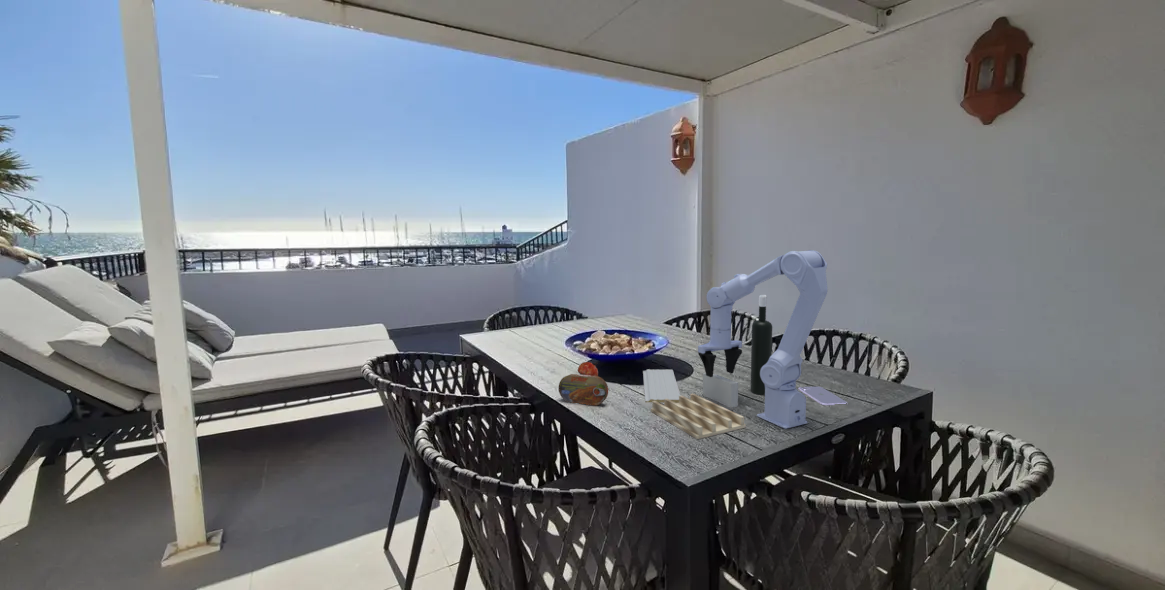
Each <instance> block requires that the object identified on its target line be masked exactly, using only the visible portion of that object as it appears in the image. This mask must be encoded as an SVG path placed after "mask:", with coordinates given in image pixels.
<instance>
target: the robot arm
mask: <svg viewBox="0 0 1165 590" xmlns="http://www.w3.org/2000/svg"><path fill="white" fill-rule="evenodd" d="M827 269H828V263H827V261H826V260H825V258H824V257H823V255H822V254H821V252H819V251H817V250H812V249H808V250H803V251H799V250H798V251H797V250H791V251H788V252H786V253H785V254H781V255H779V256H777V257H776V258H774V259H773V260H771V261H769V262H768V263H766V264H764V265H763V266H761V267H760V268H757V269H756V270H755V271H753V272H751V273H750V274H745V273H736V274H735V275H733V278H732V279H730V280H729V281H724V282H722V283H721V284H720V286H714V287H711V288H710V289H709V290H708V291H707V293H706V302H707V304H708V305H709V306H710V316H709V317H710V318H709V320H710V326H709V327H710V329H709V338H710V339H709V341H708V342H707V343H704V344H700V345H697V352H698V356H699V357H700V360H701V362H702V365H703V368H704V373H706V376H709V377H713V373H714V370H715V369H714V368H715V367H714V366H715V362H716V358H717V355H716V354H713V352H718V351H723V352H724V355H725V368H726V369H725V370H726V373H729V374H734V372H735V369H736V365H737V362H738V360H739V358H740V357H741V355H742V353H743V350H742V347H743V341H742V340H739V339H736V340H732V311H733V306H734V304H735V303H736V302H737V301H738V300H740V299H743V298H744V297H747V296H748V295H750V294H752V293H753V292H754V290H755V288H756V286H758V285H760V284H761V283H764V282H766V281H768V280H770V279H772V278H774V277H777V276H779V275H780V276H783V275H785V277H787V279H789V280H790V281H791V282H792V283H793V284H794V285H795V286H796V288H797V289H798V291H799V296H798V298H797V301H796V304H795V305H794V308H793V311H792V313H791V316H790V318H789V320H788V322H787V324H786V325H787V326H786V327H785V331H784V332H783V335H782V338H781V339H780V343H778V347H777V349H776V350H775V351H774V352H773V353H772V355H771V356H770V358H769V360H768V362H767V363H766V364H765V365H763V366H762V368H761V370H760V377H761V380H762V381H763V383H764V384H765V395H764V411H763V412H762V413H757V414H756V417H757V418H760V419H762V420H765V421H767V422H769V423H770V424H771V423H772V424H773V425H776V426H778V427H780V428H782V429H785V430H786V429H787V430H788V429H790V428H795V427H799V426H801V425H802V426H803V425H806V424H808V421H807V420H806V415H807V413H806V412H807V411H806V410H807V409H806V408H807V399H806V396H805V393H803V392H801V391H800V390H799V389H798V388H797V380H799V379H800V378H801V375H802V363H803V358H802V357H801V354H802V352H803V350H804V347H805V345H806V343H807V340H808V338H809V335H810V333H811V331H812V329H813V326H814V324H815V323H816V319H817V318H818V316H819V313H820V311H821V308H822V305H823V304H824V301H825V299H826V297H827V295H828V290H829V289H828V281H827Z"/></svg>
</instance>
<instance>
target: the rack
mask: <svg viewBox="0 0 1165 590" xmlns="http://www.w3.org/2000/svg"><path fill="white" fill-rule="evenodd" d="M689 396H690V397H689V398H688V397H686V396H684V395H680V396H679V403H675V402H673V401H671V400H669V399H664V404H662V403H661V402H657V401H652V402H651V404H652V405H651V406H652V407H651V408H650V412H651V413H653V414H654V415H656V416H658V417H660V419H662V420H664V421H666V422H668V423H669V424H671V425H672V426H675V427H676V428H678V429H679V430H681V431H683V432H684V433H686V434H687V435H690V436H691V437H693V438H694V439H696V440H700V439H701V440H702V439H705V438H710V437H712V436H716V435H721V434H724V433H729V432H732V431H733V432H734V431H737V430H742V429H745V428H746V427H747V425H746V423H745V416H743V415H741V414H739V413H736V412H734V411H732V410H730V409H728V408H726V407H724V406H722V405H720V404H717V403H715V402H713V401H711V400H710V399H709V400H708V399H707V398H704V397H702V396H700V395H698V394H695V393H690V395H689Z"/></svg>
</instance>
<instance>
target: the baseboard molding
mask: <svg viewBox="0 0 1165 590" xmlns="http://www.w3.org/2000/svg"><path fill="white" fill-rule="evenodd" d="M650 368H655V369H650ZM650 368H649V369H646V370H643V369H645V367H644V366H643V368H641V369H640V372H641V373H642V374H643V375H642V376H643V387H644V388H643V390H644V402H645V403H652V401H657V402H658V403H664V399H669V400H671V401H673V402H675V403H679V396H681V392H680V389H679V386H678V383H677V380H676V376H675V374H674V370H673V366H672V367H671V369H665V368H667V367H660V365H657V366H652V367H651V366H650ZM656 368H657V369H656ZM658 368H660V369H658ZM661 368H662V369H661ZM663 368H664V369H663Z"/></svg>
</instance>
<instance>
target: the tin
mask: <svg viewBox="0 0 1165 590" xmlns="http://www.w3.org/2000/svg"><path fill="white" fill-rule="evenodd" d="M558 393H559V395H560V397H561V399H563V401H565V402H567V403H568V402H571V403H570V404H574V403H579V404H578V405H583V404H586V405H585V406H593V407H594V406H599V405H602V404H603V403H604V401H606V399H607V398H608V395H609V386H608V383H607V382H606V380H604V378H603V377H600V376H599V375H598V376H590V375H580V374H579V373H578V374H576V373H570V374H568V375H565V376H563V377H562V378H561V379H560V381H559V383H558Z"/></svg>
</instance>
